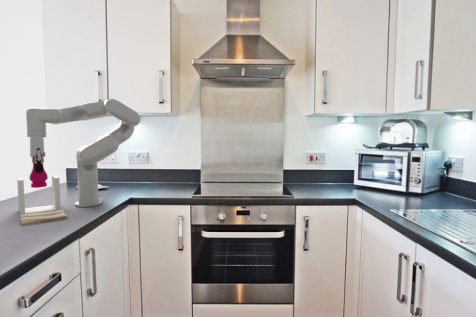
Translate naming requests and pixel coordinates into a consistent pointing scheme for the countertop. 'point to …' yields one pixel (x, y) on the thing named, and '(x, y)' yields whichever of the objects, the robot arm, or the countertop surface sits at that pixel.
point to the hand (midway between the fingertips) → (38, 171)
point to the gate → (42, 208)
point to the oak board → (42, 216)
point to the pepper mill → (38, 176)
